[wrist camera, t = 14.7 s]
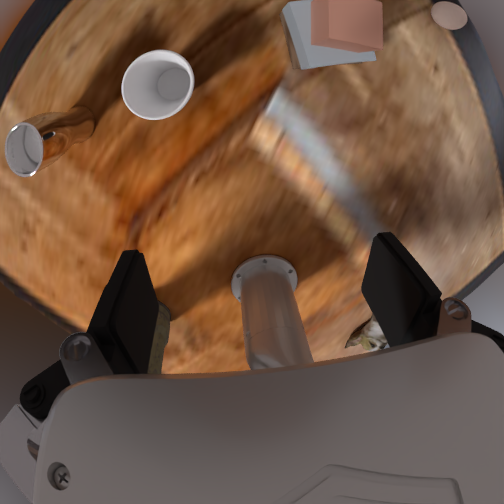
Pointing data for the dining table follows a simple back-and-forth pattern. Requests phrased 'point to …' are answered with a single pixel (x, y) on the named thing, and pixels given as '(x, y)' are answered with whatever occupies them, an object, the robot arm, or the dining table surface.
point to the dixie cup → (157, 84)
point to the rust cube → (347, 24)
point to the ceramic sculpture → (369, 337)
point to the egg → (448, 15)
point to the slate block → (300, 32)
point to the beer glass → (46, 139)
